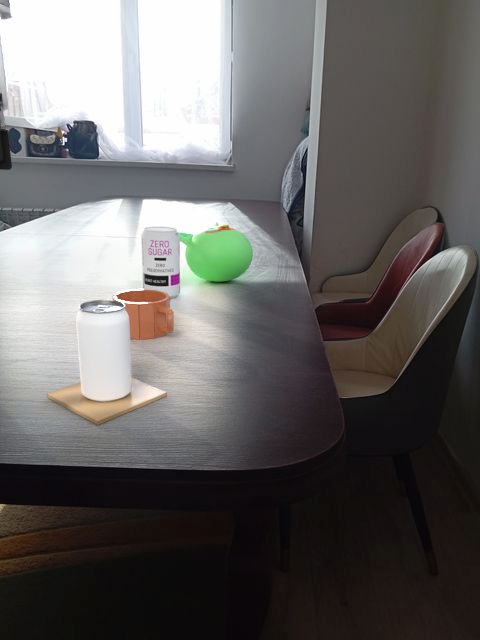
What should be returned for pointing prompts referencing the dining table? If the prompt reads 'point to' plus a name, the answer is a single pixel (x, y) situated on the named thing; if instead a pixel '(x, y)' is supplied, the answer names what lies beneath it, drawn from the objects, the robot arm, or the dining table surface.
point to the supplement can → (161, 260)
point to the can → (104, 350)
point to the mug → (147, 312)
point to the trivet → (105, 410)
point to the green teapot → (217, 252)
